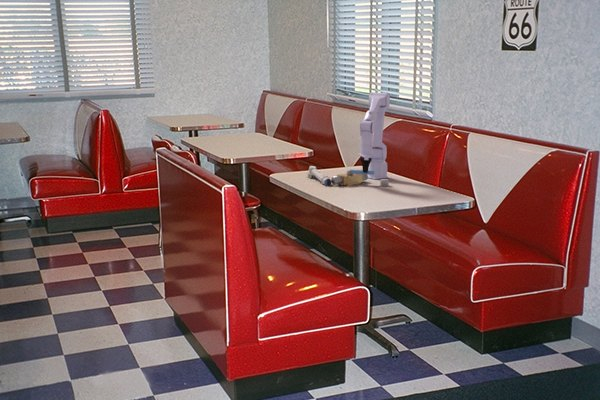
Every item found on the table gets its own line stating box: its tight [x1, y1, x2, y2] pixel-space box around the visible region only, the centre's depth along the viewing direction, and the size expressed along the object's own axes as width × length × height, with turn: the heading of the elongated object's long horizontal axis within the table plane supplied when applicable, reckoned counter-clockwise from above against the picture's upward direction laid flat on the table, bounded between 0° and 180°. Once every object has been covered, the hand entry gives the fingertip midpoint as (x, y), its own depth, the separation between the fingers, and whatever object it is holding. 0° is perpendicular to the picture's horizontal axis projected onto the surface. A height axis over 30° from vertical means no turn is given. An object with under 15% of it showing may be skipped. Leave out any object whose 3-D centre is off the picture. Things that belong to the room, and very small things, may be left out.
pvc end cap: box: [379, 178, 390, 187], centre depth 365 cm, size 4×4×3 cm
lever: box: [346, 168, 374, 176], centre depth 367 cm, size 3×14×2 cm, turn 82°
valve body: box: [330, 172, 369, 186], centre depth 368 cm, size 21×7×5 cm, turn 129°
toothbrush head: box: [306, 165, 332, 187], centre depth 374 cm, size 5×7×25 cm
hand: (365, 172), depth 365 cm, fingers closed, pressing on lever
